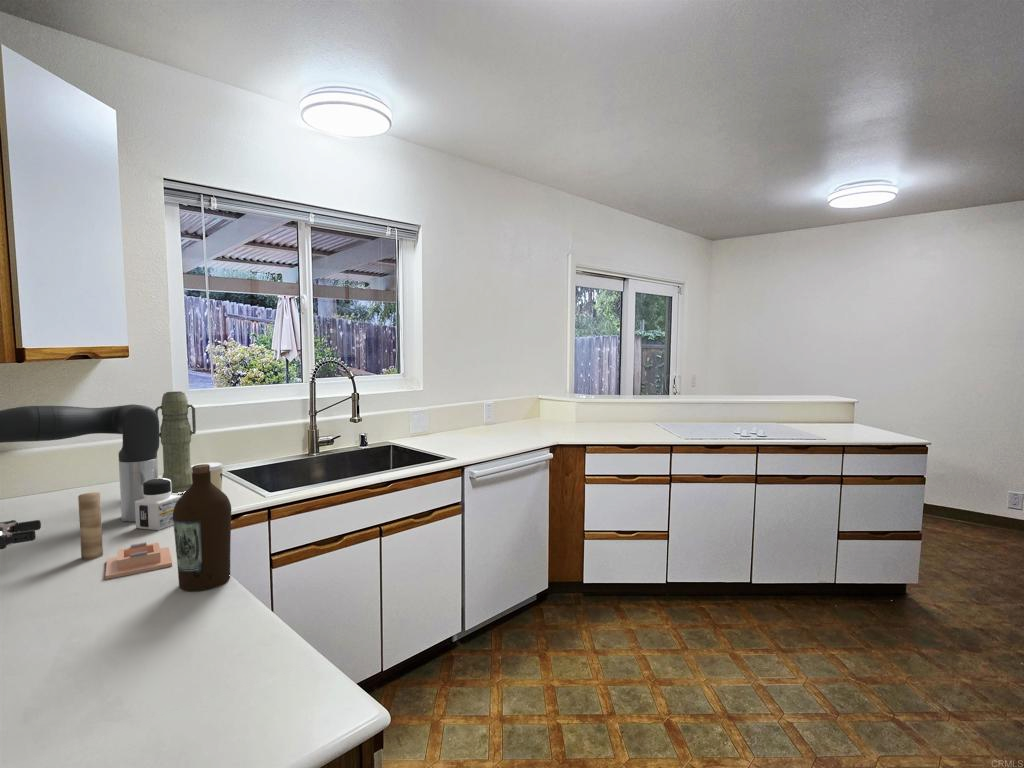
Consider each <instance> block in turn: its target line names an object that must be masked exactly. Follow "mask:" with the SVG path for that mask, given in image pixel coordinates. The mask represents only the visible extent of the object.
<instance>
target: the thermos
mask: <svg viewBox="0 0 1024 768" xmlns="http://www.w3.org/2000/svg"><path fill="white" fill-rule="evenodd" d="M188 402H189V401H188V398H187V396H186V393H185V392H183V391H166V392H164V393H163V396H162V397H161V402H160V403H161V404H160V405H159V406H157V407H156V408H155V409H153V410H154V411H155V412H156V413H157V415H158V416H159V414H158V413H159V410H161V416H162V419H161V425H160V426H159V439H160V443H161V445H162V460H163V464H162V465H163V474H162V477H161V478H166V479H170V480H171V489H172V493H178V492H184V491H187V490H188V489H189V488H190V487H191V485H192V483H191V473H190V468H191V447H190V445H191V444H190V443H191V442H192V436H193V435H195V434H196V430H197V428H196V425H197V424H196V423H197V422H196V408H195V407H194V406H193V404H189V403H188ZM189 408H191V418H192V419H191V421H192V422H191V423H192V424H190V422H189V417H188V414H189ZM191 425H192V430H191Z"/></svg>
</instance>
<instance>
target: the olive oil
mask: <svg viewBox="0 0 1024 768" xmlns="http://www.w3.org/2000/svg"><path fill="white" fill-rule="evenodd" d="M194 465H195V464H194ZM209 468H210V465H208V464H201V465H195V466H193V467H192V470H193V473H192V482H193V483H192V485H191V487H190V488H189V489H188V490H187V491H186V492H185V493H184V494H181V496H180V498H179V500H178V501H177V502H176V504H175V507H174V511H173V518H172V520H173V525H172V526H173V533H174V542H175V544H174V545H175V553H176V554H175V555H176V562H177V563H176V564H177V575H178V587H179V589H180V590H181V591H185V592H203V591H209V590H212V589H215V588H217V587H218V588H219V587H220V586H222V585H224V584H225V583H227V582H228V581H229V580H230V579H231V543H232V542H231V541H232V540H231V534H232V533H231V532H232V504H231V501H230V499H229V496H227V494H226V493H225V492H223V491H221V490H220V489H218V488H217V487H216V486H214V485H213V484H212V483H211V471H210V470H209ZM229 575H230V576H229Z"/></svg>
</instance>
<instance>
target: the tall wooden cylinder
mask: <svg viewBox="0 0 1024 768" xmlns="http://www.w3.org/2000/svg"><path fill="white" fill-rule="evenodd" d="M77 499H78V514H79V515H78V517H79V520H78V522H79V536H80V537H79V538H80V539H79V540H80V554H81V555H80V556H81V560H83V561H87V560H88V561H89V560H94V558H95V559H98V558H100V557H102V556H104V552H103V547H104V546H103V533H102V531H103V530H102V528H103V527H102V510H101V492H94V491H93V492H86V493H82V494H81V493H80V494H79V495H78V497H77Z"/></svg>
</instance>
